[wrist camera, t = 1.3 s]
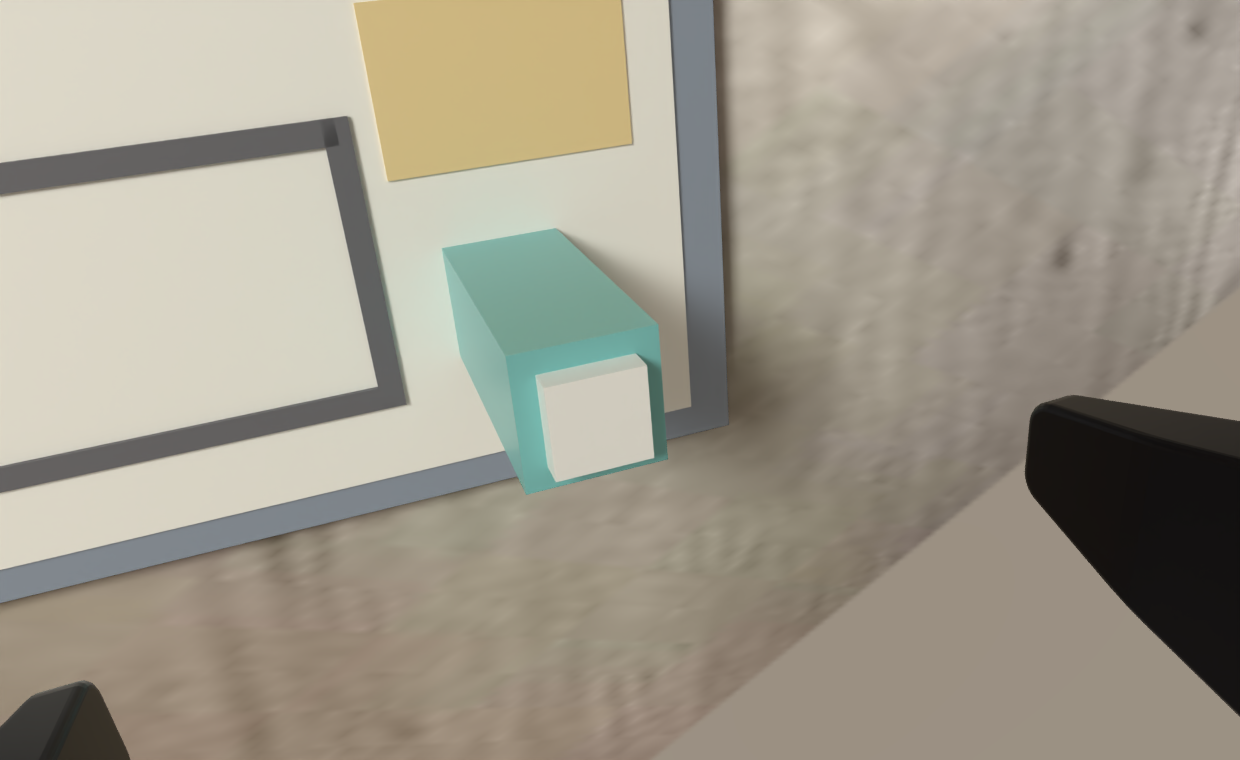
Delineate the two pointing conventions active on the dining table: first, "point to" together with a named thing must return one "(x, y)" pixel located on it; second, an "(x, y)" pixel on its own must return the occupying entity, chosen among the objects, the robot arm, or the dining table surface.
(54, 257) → the drawing board
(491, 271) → the teal piece
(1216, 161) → the dining table surface
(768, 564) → the dining table surface
